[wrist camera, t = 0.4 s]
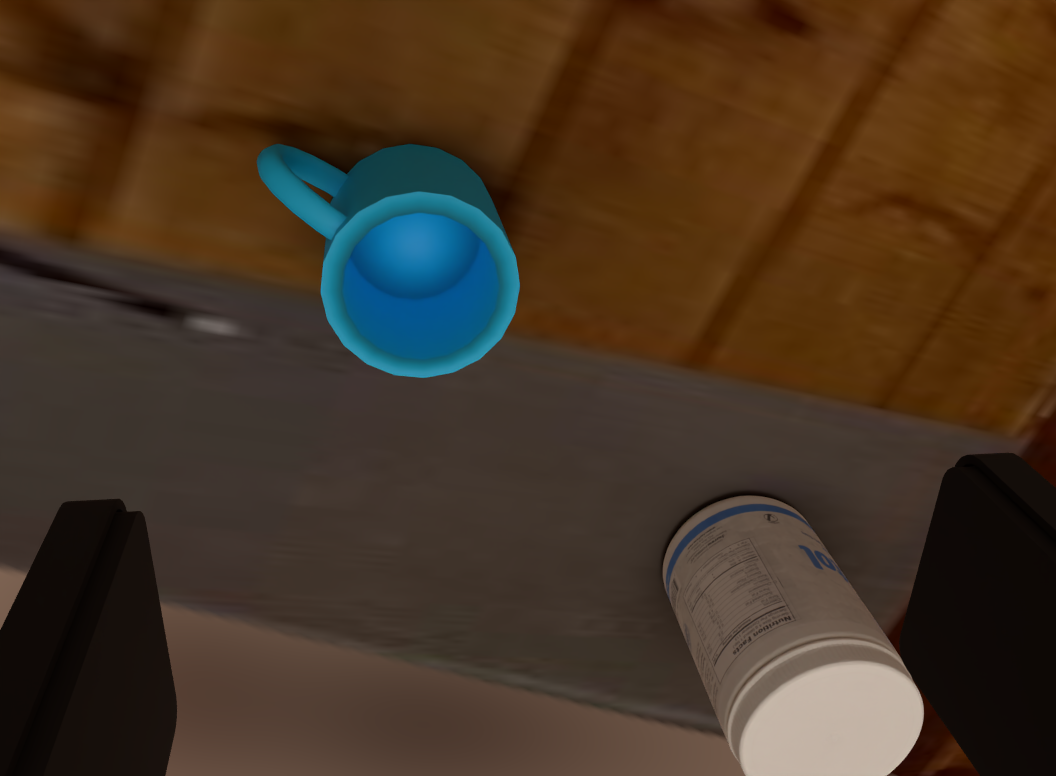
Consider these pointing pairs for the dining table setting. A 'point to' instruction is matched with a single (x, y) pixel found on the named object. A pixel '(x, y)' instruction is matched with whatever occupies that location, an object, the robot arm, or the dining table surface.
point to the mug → (404, 254)
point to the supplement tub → (787, 646)
